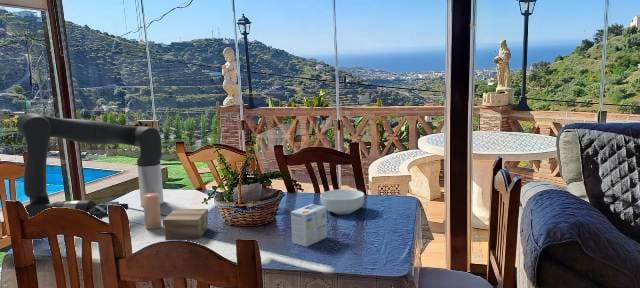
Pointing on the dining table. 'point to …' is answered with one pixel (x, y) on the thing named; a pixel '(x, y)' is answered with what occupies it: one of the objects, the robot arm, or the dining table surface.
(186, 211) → the tan square block
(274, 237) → the dining table surface
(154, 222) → the tan cylinder
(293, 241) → the light bulb box
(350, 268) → the dining table surface
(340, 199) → the cereal bowl
